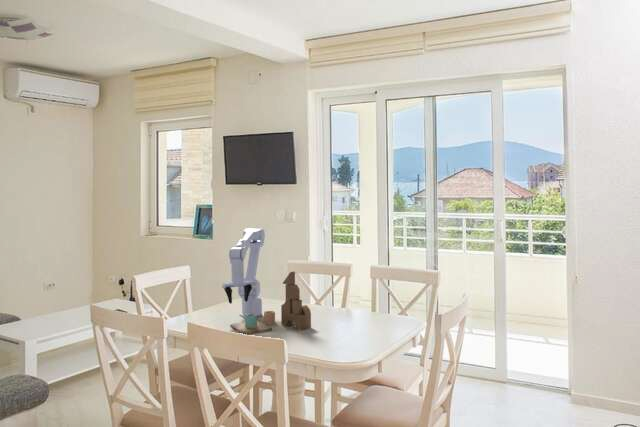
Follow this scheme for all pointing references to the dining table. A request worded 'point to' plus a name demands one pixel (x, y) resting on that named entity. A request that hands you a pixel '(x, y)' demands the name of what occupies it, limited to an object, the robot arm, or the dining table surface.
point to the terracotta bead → (269, 317)
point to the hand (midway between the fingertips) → (238, 302)
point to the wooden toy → (294, 306)
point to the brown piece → (259, 328)
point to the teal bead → (250, 320)
